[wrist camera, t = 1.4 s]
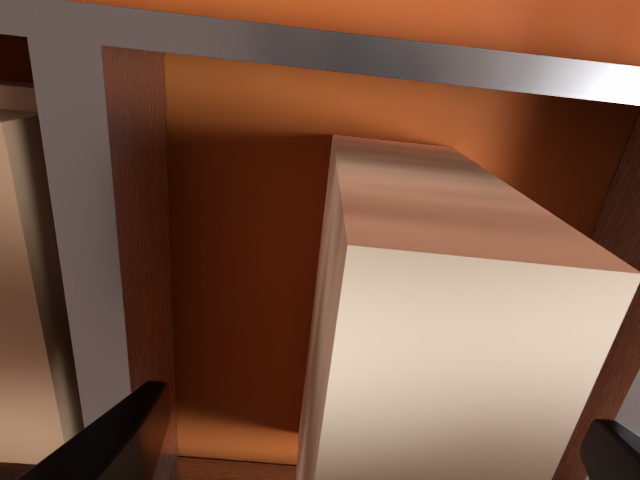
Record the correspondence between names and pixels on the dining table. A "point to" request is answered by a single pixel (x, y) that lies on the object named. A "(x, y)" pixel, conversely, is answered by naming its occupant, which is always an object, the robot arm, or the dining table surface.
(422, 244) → the beige wooden block
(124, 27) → the rack
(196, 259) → the dining table surface
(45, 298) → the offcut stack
